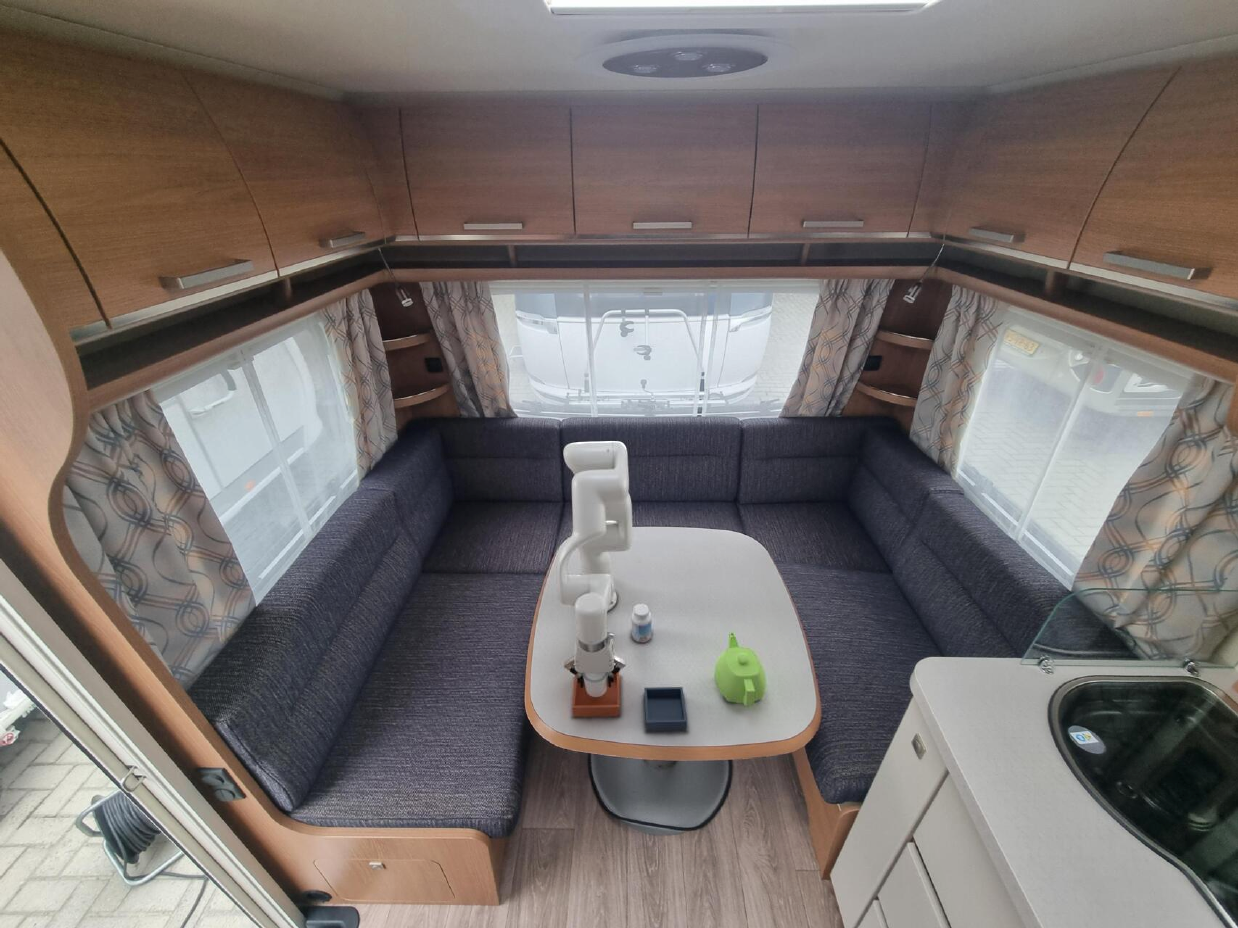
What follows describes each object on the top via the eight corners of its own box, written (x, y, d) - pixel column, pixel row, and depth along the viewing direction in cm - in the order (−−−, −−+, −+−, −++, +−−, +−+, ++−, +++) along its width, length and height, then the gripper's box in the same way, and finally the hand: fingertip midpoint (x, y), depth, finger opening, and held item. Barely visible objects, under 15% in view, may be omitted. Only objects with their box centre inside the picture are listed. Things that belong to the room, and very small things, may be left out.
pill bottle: (653, 629, 152) (654, 604, 146) (648, 645, 147) (648, 619, 141) (635, 625, 154) (634, 599, 148) (629, 640, 149) (628, 614, 143)
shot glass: (606, 701, 127) (604, 684, 124) (580, 696, 129) (578, 680, 125) (611, 678, 133) (610, 661, 130) (587, 674, 134) (585, 657, 131)
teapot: (706, 656, 143) (710, 627, 137) (752, 654, 144) (757, 624, 137) (722, 722, 126) (726, 692, 120) (773, 719, 126) (780, 689, 120)
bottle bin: (644, 696, 133) (644, 687, 131) (681, 695, 133) (682, 686, 131) (646, 731, 124) (646, 722, 122) (686, 730, 124) (686, 721, 122)
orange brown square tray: (576, 678, 138) (575, 669, 136) (619, 678, 138) (619, 669, 136) (573, 716, 128) (572, 707, 126) (619, 716, 128) (619, 706, 126)
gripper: (627, 624, 124) (628, 669, 133) (559, 625, 124) (564, 671, 133) (627, 649, 117) (628, 695, 127) (556, 650, 118) (562, 696, 127)
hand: (596, 682), depth 130 cm, fingers closed on shot glass, 6 cm apart
